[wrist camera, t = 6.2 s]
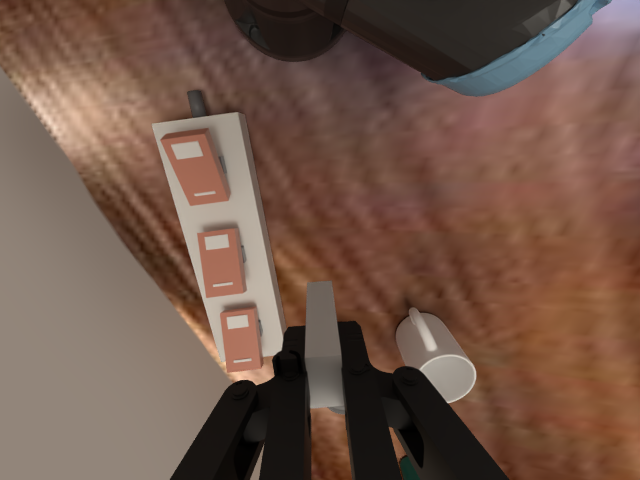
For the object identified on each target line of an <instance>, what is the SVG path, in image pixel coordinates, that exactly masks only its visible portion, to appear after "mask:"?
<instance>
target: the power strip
mask: <svg viewBox="0 0 640 480" xmlns="http://www.w3.org/2000/svg"><path fill="white" fill-rule="evenodd" d="M187 95H188V99H189V103H190V107H191V111H192V115H193V118H191V119H183V120H176V121H169V122H162V123H154V124H152V127H153V131H154V134H155V138H156V141H157V145H158V148H159V151H160V155H161V158H162V162H163V165H164V169H165V172H166V175H167V179H168V182H169V186H170V189H171V192H172V196H173V199H174V203H175V206H176V210H177V213H178V216H179V220H180V223H181V227H182V230H183V233H184V237H185V240H186V244H187V247H188V251H189V254H190V257H191V261H192V264H193V268H194V271H195V275H196V278H197V281H198V285H199V288H200V292H201V295H202V298H203V302H204V305H205V309H206V312H207V316H208V319H209V322H210V326H211V329H212V333H213V336H214V339H215V343H216V346H217V350H218V353H219V357H220V360H221V362H225V361H226V360H225V352H224V344H223V335H222V327H221V319H220V313H221V312H223V311H224V310H232V309H240V308H248V307H256V306H257V314H258V322H259V330H260V337H261V345H262V353H263V357H265V356H273V355H276V354H277V353H278V352H279V351H281V350H282V343H283V336H284V333H285V331H286V330H287V329H286V323H285V318H284V313H283V308H282V303H281V298H280V293H279V287H278V282H277V277H276V272H275V267H274V262H273V257H272V251H271V246H270V241H269V236H268V231H267V226H266V221H265V215H264V210H263V205H262V200H261V195H260V190H259V185H258V179H257V174H256V169H255V164H254V159H253V154H252V149H251V143H250V138H249V133H248V128H247V123H246V118H245V114H242V113H239V112H235V113H227V114H220V115H213V116H207V114H206V110H205V106H204V102H203V97H202V93H201V91H200V90H193V91H188V92H187ZM203 128H209V131H210V134H211V137H212V140H213V142H214V145H215V148H216V151H217V154H218V157H219V160H220V163H221V166H222V169H223V172H224V175H225V177H226V180H227V183H228V186H229V189H230V192H231V195H230V198H229V201H224V202H217V203H209V204H201V205H194V206H190V205H189V202H188V200H187V198H186V196H185V194H184V191H183V189H182V187H181V185H180V183H179V181H178V178H177V176H176V174H175V172H174V170H173V167H172V165H171V163H170V161H169V159H168V156H167V154H166V152H165V150H164V148H163V145H162V143H161V141H160V139H161V138H162V137H163V136H164V135H165V134H167V133H174V132H181V131H189V130H196V129H203ZM233 228H239V235H240V243H241V250H242V257H243V264H244V272H245V279H246V286H247V291H246V292H244V293H242V294H234V295H226V296H218V297H210V298H206V293H205V286H204V279H203V272H202V265H201V258H200V251H199V244H198V237H197V233H202V232H210V231H217V230H225V229H233Z"/></svg>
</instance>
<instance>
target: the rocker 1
mask: <svg viewBox="0 0 640 480" xmlns="http://www.w3.org/2000/svg"><path fill="white" fill-rule="evenodd" d="M160 141H161V143H162V145H163V148H164V150H165V152H166V154H167V156H168V159H169V161H170V163H171V165H172V167H173V170H174V172H175V174H176V176H177V178H178V181H179V183H180V185H181V187H182V189H183V191H184V194H185V196H186V198H187V200H188V202H189V205H190V206H194V205H201V204H209V203H217V202H224V201H229V198H230V195H231V192H230V189H229V186H228V183H227V180H226V177H225V175H224V172H223V169H222V166H221V163H220V160H219V157H218V154H217V151H216V148H215V145H214V142H213V140H212V137H211V134H210V131H209V128H203V129H196V130H189V131H181V132H174V133H167V134H165V135H164V136H163V137H162V138H161V139H160Z"/></svg>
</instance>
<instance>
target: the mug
mask: <svg viewBox="0 0 640 480" xmlns="http://www.w3.org/2000/svg"><path fill="white" fill-rule="evenodd" d="M396 343H397V346H398V349H399V351H400V353H401V356H402V358H403V361H404V363H405V366H410V367H414V368H416V369H419V370H420V371H421V372H422V373H424V374H425V376H426V377H427V378H428V379H429V381H430V382H431V383H432V384H433V386H434V387H435V388H436V389H437V391H438V392H439V393H440V394H441V395H442V397H443V398H444V399H445V400H446V402H447V403H450V402H454V401H456V400H458V399H460V398H462V397H463V396H465V395H466V394H467V393H468V392H469V391H470V390H471V389H472V387H473V385H474V383H475V380H476V371H475V368H474V366H473V364H472V363H471V361H470V360H469V358H468V357H467V355H466V354H465V353H464V351H463V350H462V348H461V347H460V346H459V344H458V343H457V341H456V340H455V339H454V337H453V336H452V334H451V333H450V332H449V330H448V329H447V327H446V326H445V325H444V323H443V322H442V321H441V320H440V319H439V318H438V317H436V316H434V315H432V314H429V313H419V311H418V310H417V309H416V308H410V309H409V317H407V318H405V319H404V320H403V321H402V322H401V323H400V325H399V326H398V328H397V331H396Z"/></svg>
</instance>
